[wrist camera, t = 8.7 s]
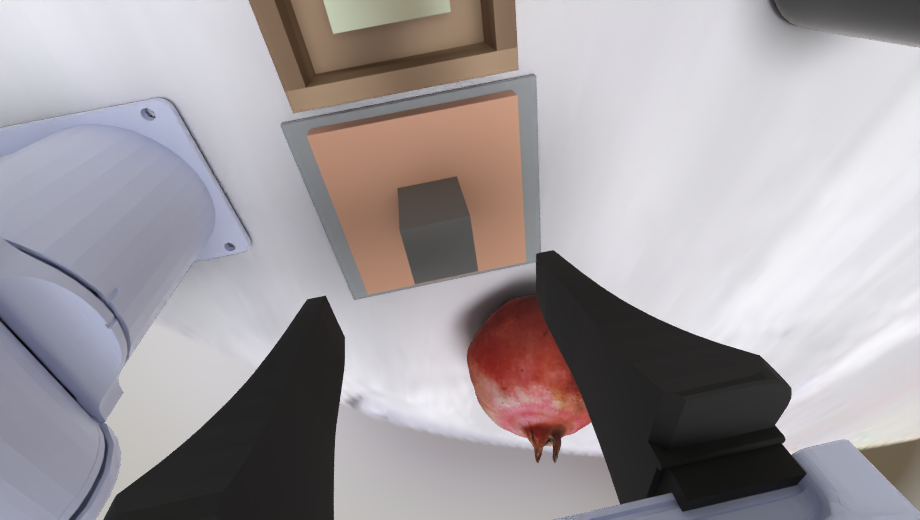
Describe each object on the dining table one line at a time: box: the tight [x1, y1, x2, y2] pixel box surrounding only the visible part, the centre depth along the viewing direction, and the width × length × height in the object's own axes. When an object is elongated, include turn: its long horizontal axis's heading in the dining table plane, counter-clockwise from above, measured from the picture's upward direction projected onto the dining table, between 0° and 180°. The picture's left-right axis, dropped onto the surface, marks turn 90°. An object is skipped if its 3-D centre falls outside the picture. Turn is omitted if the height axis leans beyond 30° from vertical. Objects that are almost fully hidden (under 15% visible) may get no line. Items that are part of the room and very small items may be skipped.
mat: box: [281, 74, 541, 300], centre depth 22 cm, size 12×11×1 cm
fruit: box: [467, 294, 591, 463], centre depth 25 cm, size 9×10×10 cm
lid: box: [307, 90, 526, 295], centre depth 19 cm, size 10×10×5 cm
